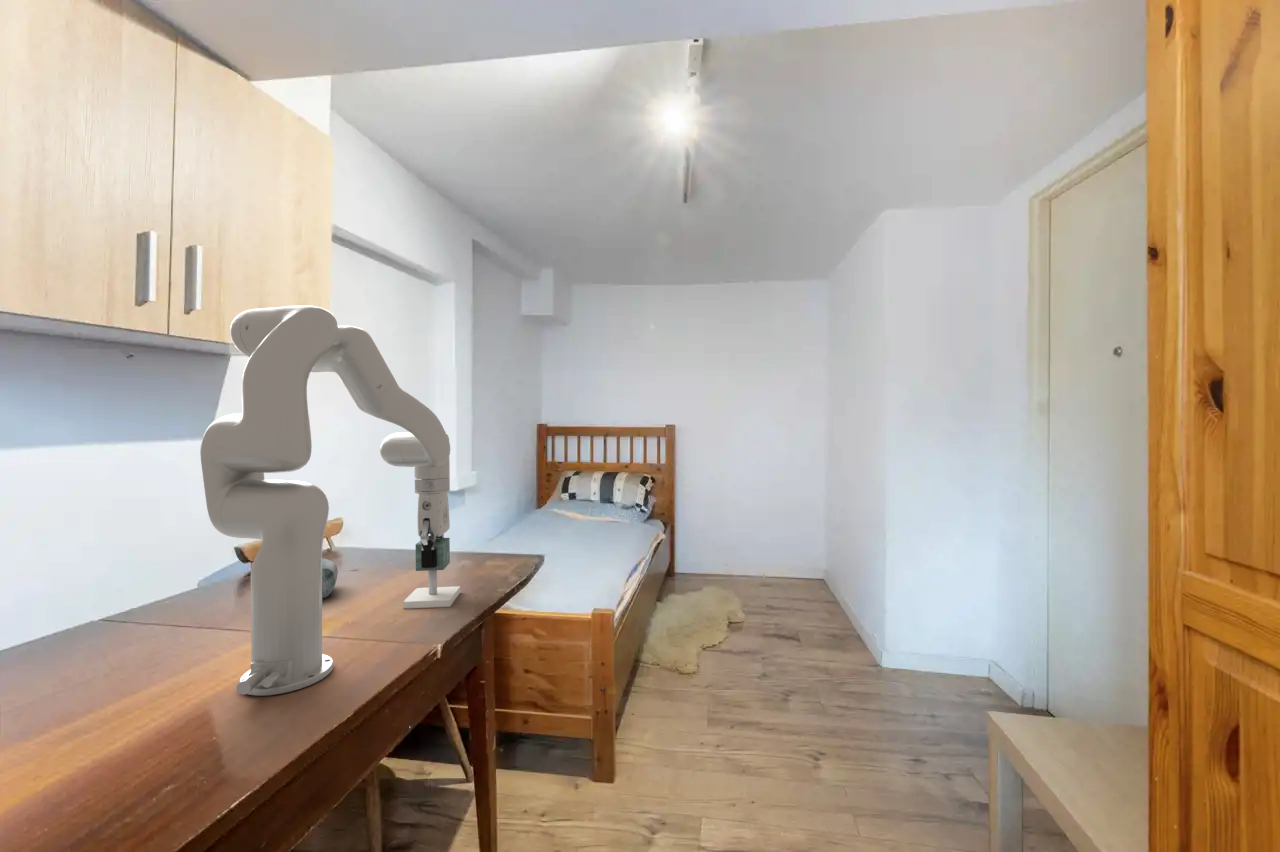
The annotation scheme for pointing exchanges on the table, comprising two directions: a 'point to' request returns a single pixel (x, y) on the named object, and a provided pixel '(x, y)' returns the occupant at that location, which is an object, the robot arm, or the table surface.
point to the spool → (328, 577)
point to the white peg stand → (432, 595)
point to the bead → (442, 554)
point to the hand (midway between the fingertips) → (433, 562)
